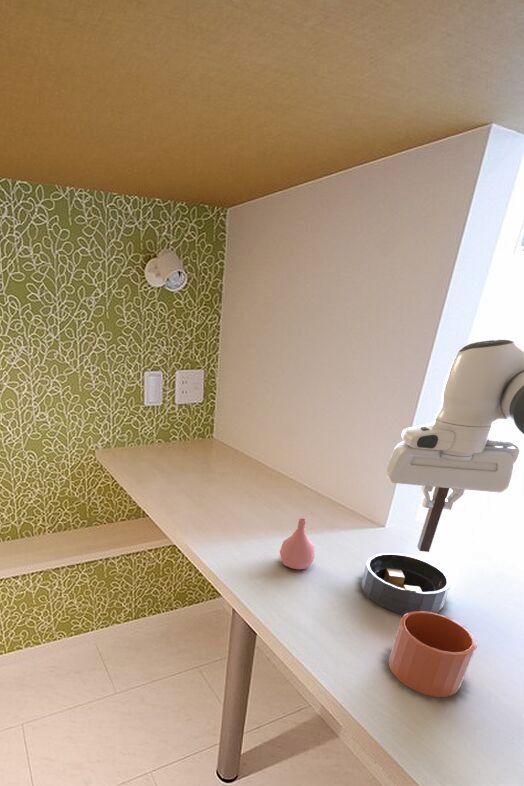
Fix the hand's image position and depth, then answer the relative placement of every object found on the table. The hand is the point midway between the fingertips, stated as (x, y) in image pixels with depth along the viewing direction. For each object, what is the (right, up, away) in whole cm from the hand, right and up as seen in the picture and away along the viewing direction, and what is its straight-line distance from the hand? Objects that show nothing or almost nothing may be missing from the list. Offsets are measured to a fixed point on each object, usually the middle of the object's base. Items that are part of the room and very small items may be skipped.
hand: (435, 507), depth 84 cm
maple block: (-4, -16, +9) cm, 19 cm away
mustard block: (-3, -19, +3) cm, 19 cm away
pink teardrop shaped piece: (-23, -13, +16) cm, 31 cm away
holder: (-11, -28, -14) cm, 33 cm away
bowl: (-4, -18, +6) cm, 20 cm away
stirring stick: (0, -8, +4) cm, 9 cm away
